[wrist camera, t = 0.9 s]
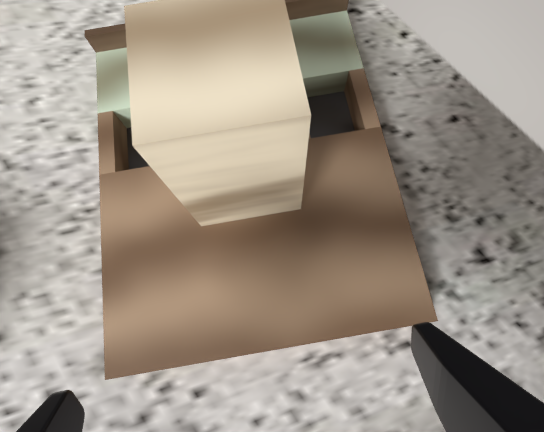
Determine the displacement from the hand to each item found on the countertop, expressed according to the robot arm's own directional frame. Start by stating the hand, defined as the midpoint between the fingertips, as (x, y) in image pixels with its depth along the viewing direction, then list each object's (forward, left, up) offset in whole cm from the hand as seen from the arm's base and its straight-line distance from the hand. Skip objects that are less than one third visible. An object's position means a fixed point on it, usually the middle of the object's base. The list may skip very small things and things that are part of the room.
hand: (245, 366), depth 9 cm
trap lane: (+10, -3, -13) cm, 17 cm away
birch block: (+10, -2, -10) cm, 15 cm away
